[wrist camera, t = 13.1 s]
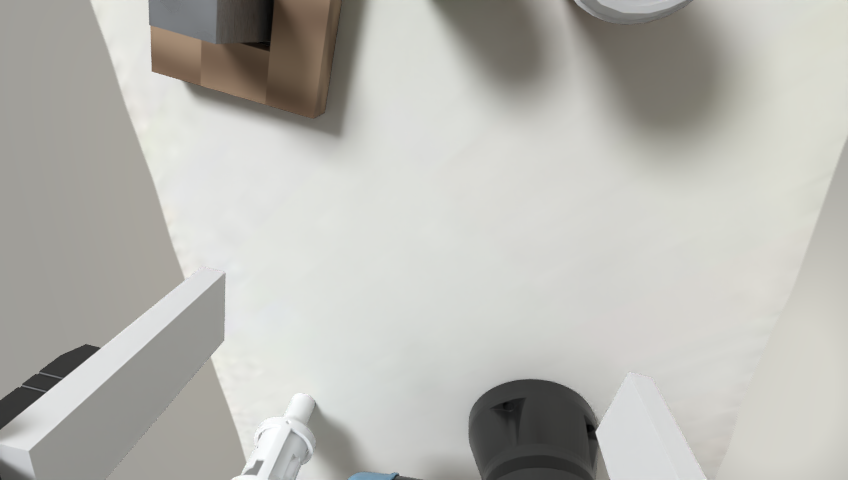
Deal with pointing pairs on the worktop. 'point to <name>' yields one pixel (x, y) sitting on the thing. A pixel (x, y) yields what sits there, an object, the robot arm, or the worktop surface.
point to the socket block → (262, 59)
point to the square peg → (215, 19)
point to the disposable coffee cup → (631, 9)
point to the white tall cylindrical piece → (282, 443)
